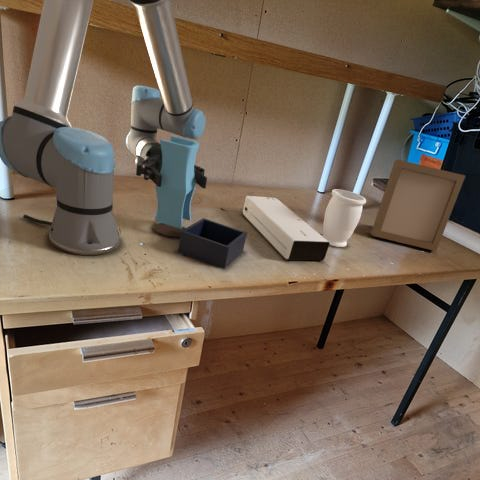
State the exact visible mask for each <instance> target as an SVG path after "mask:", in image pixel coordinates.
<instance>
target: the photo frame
mask: <svg viewBox="0 0 480 480" xmlns="http://www.w3.org/2000/svg"><path fill="white" fill-rule="evenodd" d="M465 179H466V175H464V174H460V173H456V172H452V171H448V170H443V169H439V168H436V167H431V166H427V165H423V164H418V163H415V162H412V161H411V162H410V161H406V160H402V159H395V160H394V162H393V165H392V168H391V171H390V175H389V177H388V181H387V183H386V187H385V189H384V192H383V195H382V199H381V201H380V205H379V208H378V211H377V212H376V213H377V214H376V215H375V218H374V219H375V220H374V222H373V225H372V229H371V231H370V235H371V236H373V237H377V238H380V239H385V240H388V241H393V242H397V243H400V244H406V245H409V246H413V247H418V248H422V249H426V250H430V251H433V252H437V250H438V248H439V245H440V243H441V241H442V238H443V235H444V232H445V230H446V227H447V225H448V222H449V220H450V218H451V217H450V216H451V214H452V212H453V209H454V206H455V204H456V202H457V199H458V196H459V193H460V191H461V189H462V186H463V183H464V182H465Z"/></svg>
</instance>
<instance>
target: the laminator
mask: <svg viewBox="0 0 480 480" xmlns="http://www.w3.org/2000/svg"><path fill="white" fill-rule="evenodd" d="M242 215H243V217H244V218H245V219H246V220H247V221H248V222H249V223H250V224H251V225H252V226H253V227H254V229H256V230H257V231H258V232H259V233H260V235H261V236H262V237H263V238H264V239H265V240H266V241H267V242H268V243H269V244H270V245H271V246H272V248H274V249H275V250H276V251H277V252H278V254H279V255H280V256H281V257H282V258H283V259H284V260H285V261H321V262H322V261H324V260H325V259H326V255H327V252H328V250H329V247H330V245H329V244H330V243H329V242H328V241H327V240H326V239H325V238H324V237H322V234H320V233H319V232H317V231H316V230H315V229H314V228H313V227H311V225H309V224H308V223H307V222H306V221H304V220H303V219H302V218H301V217H300V216H298V215H297V214H296V213H295V212H294V211H292V210H291V209H290V208H289V207H288V206H286V205H285V204H284V203H283V202H281V200H279V199H278V198H277V197H270V196H258V195H245V197H244V203H243V207H242Z"/></svg>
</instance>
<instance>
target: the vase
mask: <svg viewBox="0 0 480 480" xmlns="http://www.w3.org/2000/svg"><path fill="white" fill-rule="evenodd" d="M159 143H160V144H161V149H162V168H161V171H160V174H161V175H162V182H161V187H158V186H157V185H156V184H155V192H156V199H157V208H156V213H155V216H154V221H155V222H156V223H158V224H160V223H162V224H166V225H169V226H173V227H177V228H180V229H182V227H183V220H187V221H192V214H191V204H192V199H193V196H194V194H195V190H196V187H197V183H196V180H195V175H194V165H195V162H196V158H197V154H198V151H199V148H200V142H199V141H196V140H193V139H189V138H185V137H181V136H178V135H177V136H176V135H172V134H171V135H170V140H166V139H162V138H161V139H159Z"/></svg>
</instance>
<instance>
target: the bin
mask: <svg viewBox="0 0 480 480" xmlns="http://www.w3.org/2000/svg"><path fill="white" fill-rule="evenodd" d="M184 228H185V229H184V230H182V231H181V234H180V238H179V243H178V251H177V252H178V253H180V254H182V255H185V256H188V257H191V258H194V259H196V260H199V261H202V262H205V263H208V264H210V265H214V266H216V267H219V268H222V269H226V268H227V267H228V266H229V265H230V264H232V263H233V262H234V261H235V260H236V259H237V258H238V257H240V255H241V254H242V253H243V252H244V249H245V245H246V239H247V235H248V232H246V231H243V230H240V229H237V228H234V227H231V226H229V225H225V224H222V223H221V222H220V223H219V222H217V221H213V220H211V219H207V218H204V217H203V218H200V219H199V220H198V221H195V222H194V223H192V224H191V225H189V226H187V227H184Z"/></svg>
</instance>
